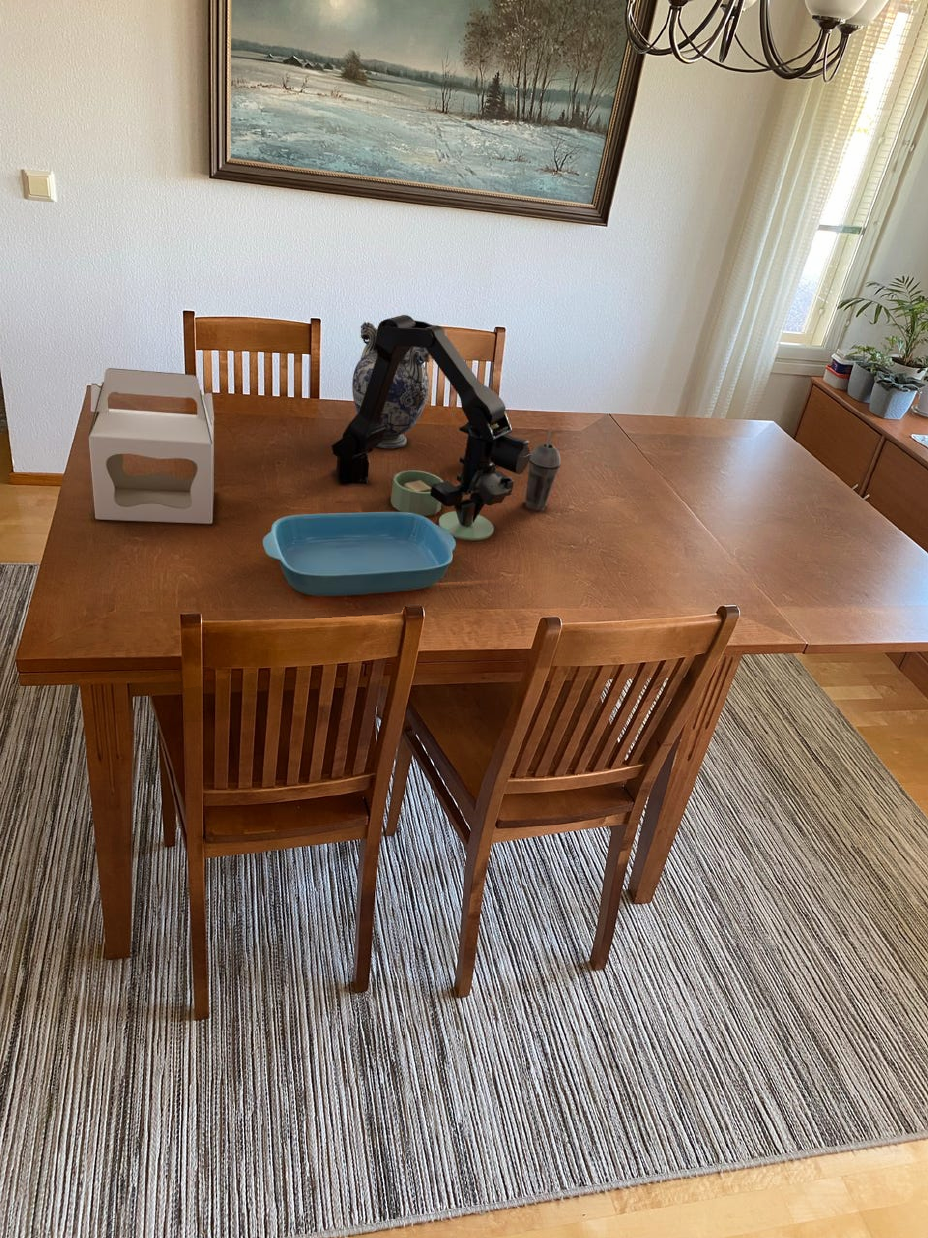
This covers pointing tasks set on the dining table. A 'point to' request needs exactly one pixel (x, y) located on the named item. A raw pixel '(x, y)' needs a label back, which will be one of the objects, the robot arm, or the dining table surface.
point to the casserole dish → (359, 552)
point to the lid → (467, 525)
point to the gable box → (151, 450)
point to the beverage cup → (541, 474)
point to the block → (417, 486)
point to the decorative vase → (394, 389)
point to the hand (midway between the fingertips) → (466, 523)
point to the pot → (414, 493)
